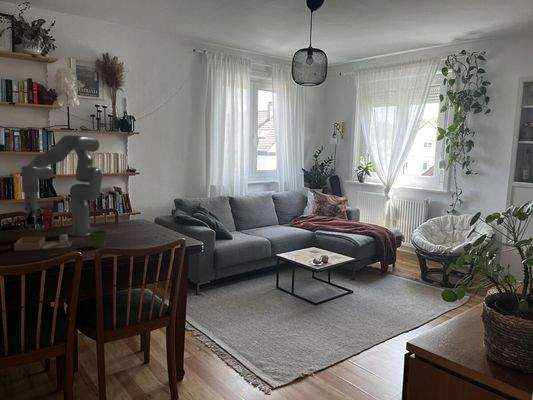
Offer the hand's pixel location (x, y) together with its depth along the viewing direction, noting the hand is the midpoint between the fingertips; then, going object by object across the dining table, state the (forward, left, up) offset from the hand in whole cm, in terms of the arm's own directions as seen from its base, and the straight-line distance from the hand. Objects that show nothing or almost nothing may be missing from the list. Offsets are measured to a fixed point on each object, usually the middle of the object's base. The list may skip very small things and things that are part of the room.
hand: (31, 223), depth 214 cm
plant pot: (-33, +6, -14) cm, 36 cm away
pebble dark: (0, 0, -1) cm, 1 cm away
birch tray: (-12, -1, -13) cm, 18 cm away
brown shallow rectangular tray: (+1, -1, -13) cm, 14 cm away
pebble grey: (-15, -1, -13) cm, 20 cm away
